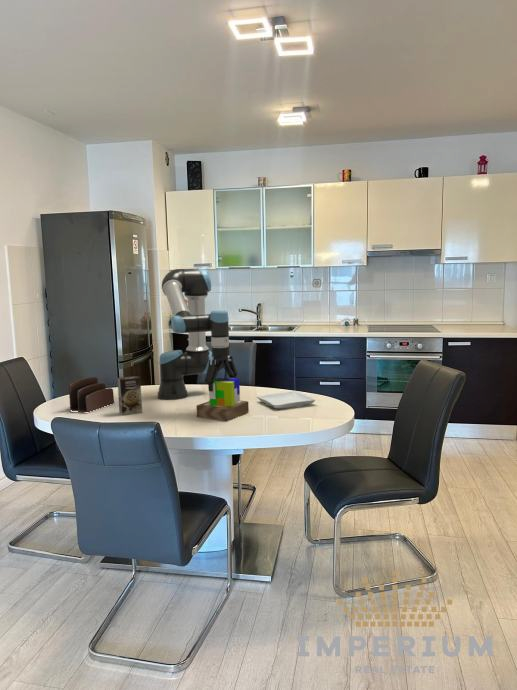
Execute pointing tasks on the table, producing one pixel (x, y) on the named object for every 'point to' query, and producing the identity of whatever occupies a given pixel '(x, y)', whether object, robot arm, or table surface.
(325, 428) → the table surface
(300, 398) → the salad plate
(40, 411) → the table surface
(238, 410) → the plinth
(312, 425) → the table surface
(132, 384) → the coffee box
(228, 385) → the puzzle toy
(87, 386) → the letter holder
